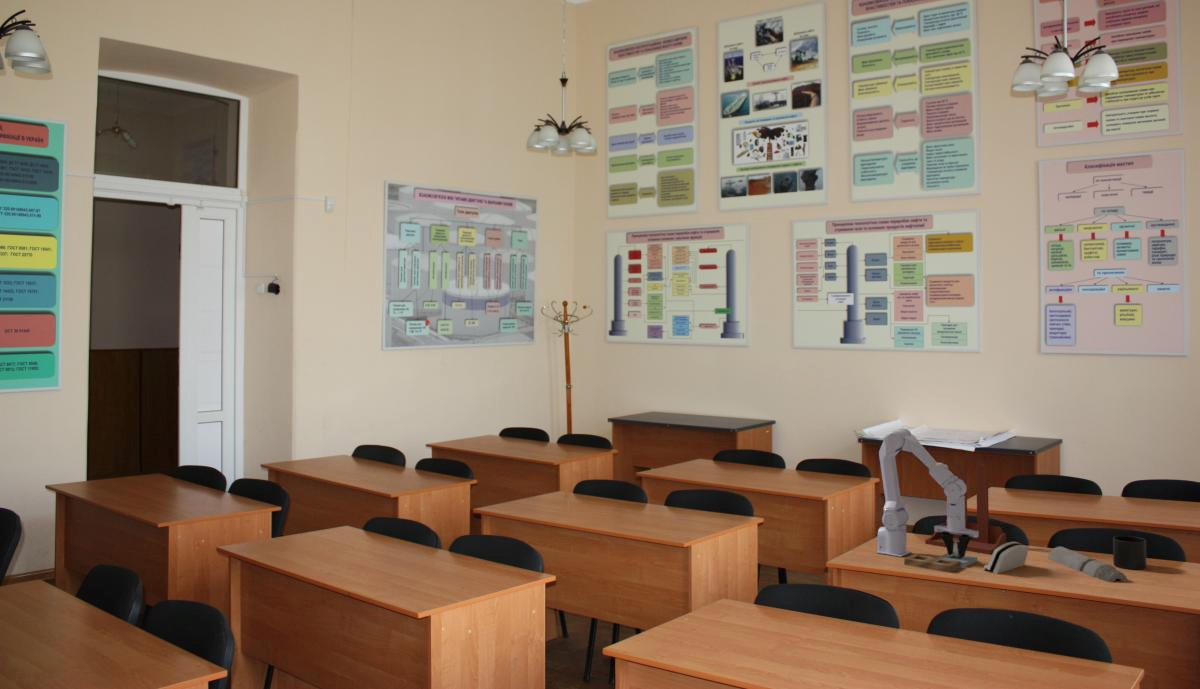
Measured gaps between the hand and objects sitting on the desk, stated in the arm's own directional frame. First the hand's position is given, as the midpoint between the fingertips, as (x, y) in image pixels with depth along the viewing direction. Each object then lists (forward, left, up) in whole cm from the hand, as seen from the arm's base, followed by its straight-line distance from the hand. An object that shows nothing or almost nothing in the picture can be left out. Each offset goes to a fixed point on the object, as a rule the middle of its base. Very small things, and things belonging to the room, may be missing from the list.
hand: (956, 555), depth 319 cm
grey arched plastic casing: (+16, +2, -3) cm, 17 cm away
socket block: (0, 0, -2) cm, 2 cm away
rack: (-4, -10, -2) cm, 11 cm away
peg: (0, 0, -2) cm, 2 cm away
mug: (+44, +31, -2) cm, 54 cm away
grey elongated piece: (+36, +18, -3) cm, 40 cm away
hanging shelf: (-7, +24, -3) cm, 25 cm away
